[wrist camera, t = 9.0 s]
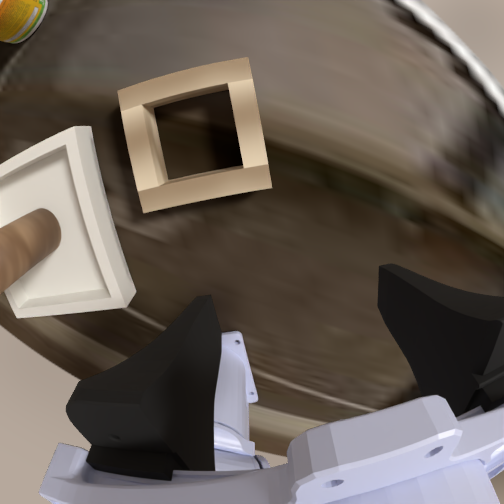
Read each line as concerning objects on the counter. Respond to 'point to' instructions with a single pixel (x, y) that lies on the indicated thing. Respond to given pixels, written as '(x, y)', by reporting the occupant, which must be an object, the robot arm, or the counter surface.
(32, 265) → the wooden dowel
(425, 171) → the counter surface
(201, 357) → the robot arm
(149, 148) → the collar
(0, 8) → the supplement bottle
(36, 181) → the tray
